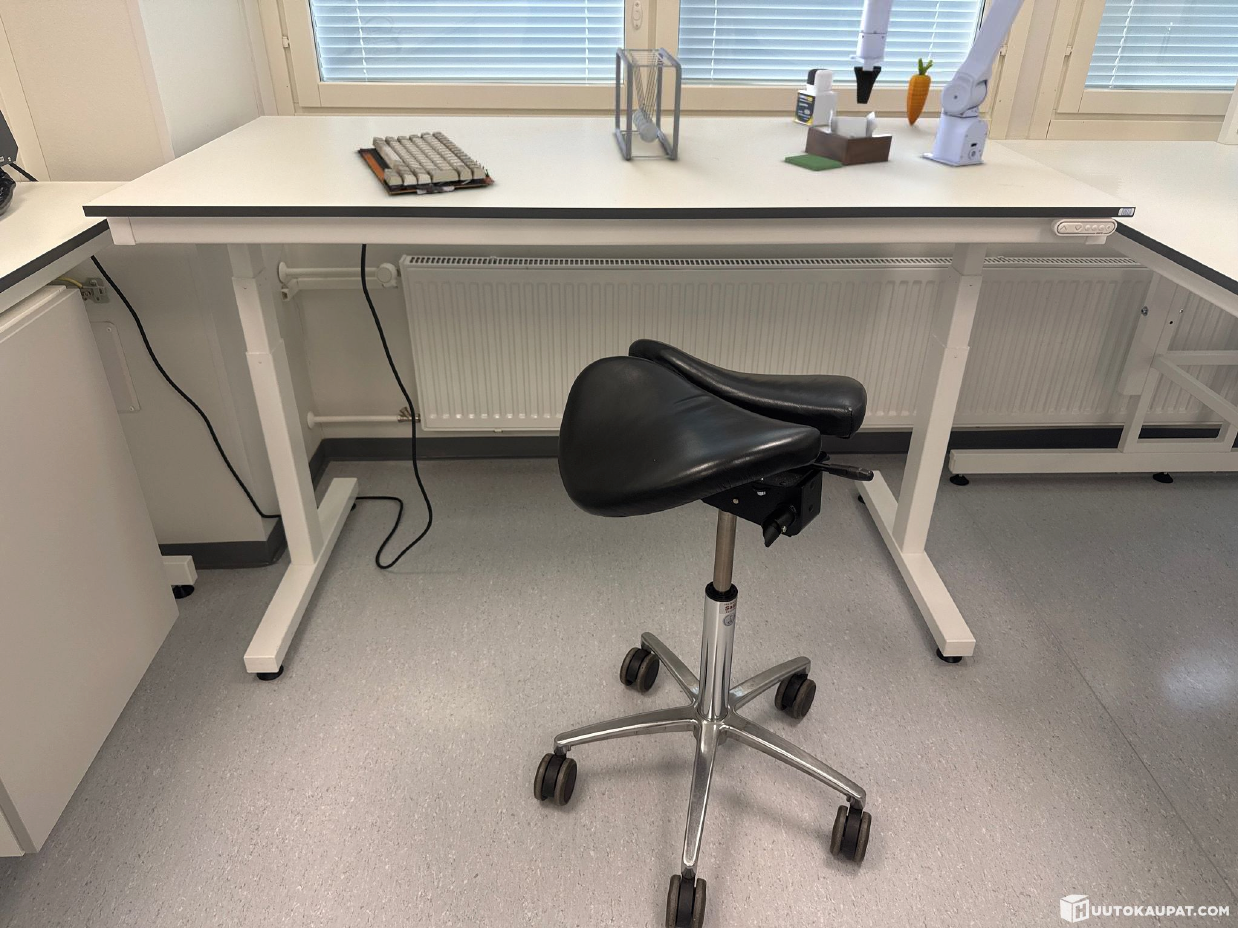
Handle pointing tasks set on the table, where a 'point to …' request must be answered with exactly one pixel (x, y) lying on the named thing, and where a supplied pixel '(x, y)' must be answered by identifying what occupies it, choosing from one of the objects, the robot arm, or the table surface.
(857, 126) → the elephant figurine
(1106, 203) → the table surface
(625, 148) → the newton's cradle
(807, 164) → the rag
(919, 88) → the carrot
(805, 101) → the medicine bottle
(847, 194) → the table surface
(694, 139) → the table surface
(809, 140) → the corner fence
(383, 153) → the mechanical keyboard
